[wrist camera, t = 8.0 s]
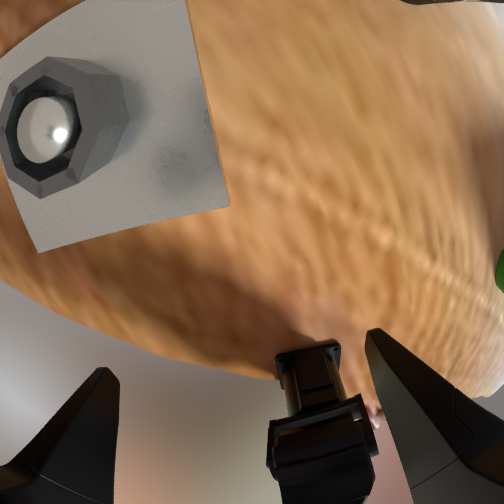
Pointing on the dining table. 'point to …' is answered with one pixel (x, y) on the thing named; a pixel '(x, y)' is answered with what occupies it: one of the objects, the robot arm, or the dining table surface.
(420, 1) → the coffee mug
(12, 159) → the octagonal hollow lampshade
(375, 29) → the dining table surface
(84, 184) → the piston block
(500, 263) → the motor
